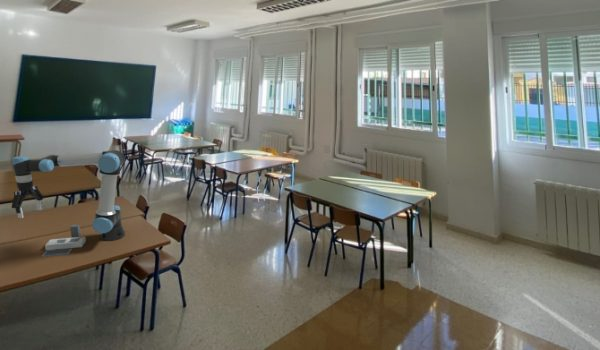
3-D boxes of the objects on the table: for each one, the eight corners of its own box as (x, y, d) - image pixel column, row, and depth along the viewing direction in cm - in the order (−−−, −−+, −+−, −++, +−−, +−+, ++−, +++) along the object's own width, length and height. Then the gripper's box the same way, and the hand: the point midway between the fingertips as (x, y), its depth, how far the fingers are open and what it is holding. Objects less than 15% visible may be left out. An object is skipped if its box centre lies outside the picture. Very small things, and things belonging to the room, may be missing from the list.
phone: (46, 252, 201) (46, 250, 201) (72, 249, 206) (72, 248, 206) (41, 257, 195) (41, 256, 195) (68, 255, 199) (68, 253, 199)
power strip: (85, 241, 217) (85, 235, 216) (81, 246, 209) (81, 241, 208) (51, 244, 211) (50, 238, 210) (45, 250, 203) (44, 244, 202)
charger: (81, 237, 223) (79, 224, 220) (79, 239, 219) (77, 226, 217) (74, 237, 221) (72, 224, 219) (72, 240, 217) (70, 227, 215)
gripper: (35, 176, 205) (41, 206, 210) (-2, 186, 181) (6, 220, 186) (47, 176, 205) (52, 207, 210) (11, 187, 181) (18, 221, 186)
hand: (30, 213), depth 198 cm, fingers open, 13 cm apart
